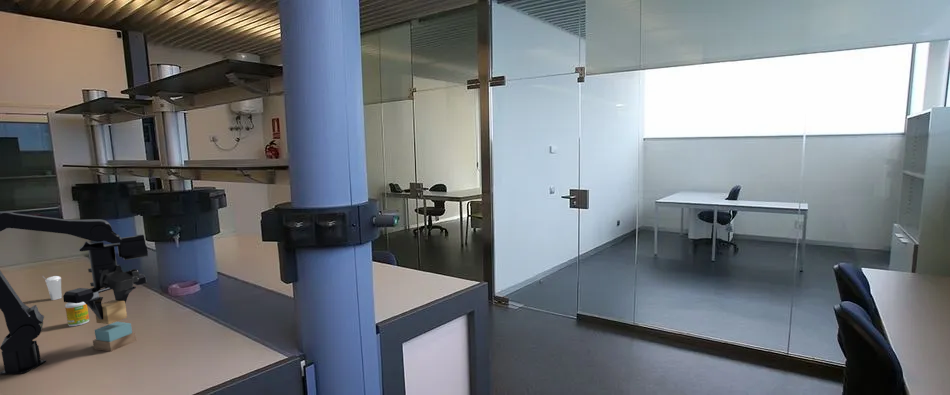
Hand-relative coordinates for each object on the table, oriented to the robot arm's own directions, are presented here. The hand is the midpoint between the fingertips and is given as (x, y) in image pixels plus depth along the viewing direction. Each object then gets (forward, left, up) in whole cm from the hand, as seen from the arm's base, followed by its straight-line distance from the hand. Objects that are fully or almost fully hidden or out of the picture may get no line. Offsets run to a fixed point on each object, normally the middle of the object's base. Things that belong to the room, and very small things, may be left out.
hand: (111, 316), depth 129 cm
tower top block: (0, 0, -6) cm, 6 cm away
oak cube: (0, 0, -1) cm, 1 cm away
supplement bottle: (+20, +27, -9) cm, 35 cm away
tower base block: (0, 0, -9) cm, 9 cm away
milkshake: (+50, +61, -9) cm, 79 cm away
